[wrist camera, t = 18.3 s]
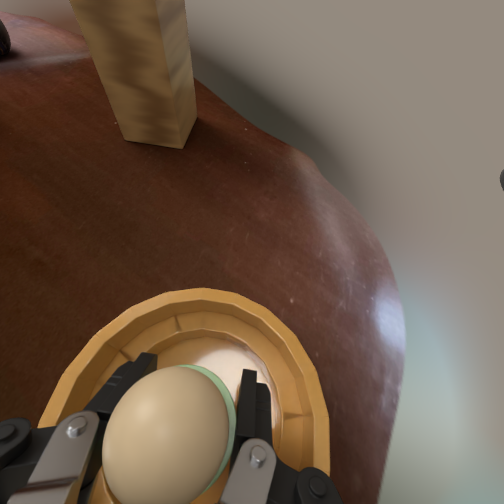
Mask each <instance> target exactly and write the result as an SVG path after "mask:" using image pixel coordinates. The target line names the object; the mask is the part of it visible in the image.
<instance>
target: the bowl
mask: <svg viewBox="0 0 504 504" xmlns="http://www.w3.org/2000/svg"><path fill="white" fill-rule="evenodd" d="M141 352H146V353H153V354H157V355H158V361H157V370H159V369H163V368H167V367H172V366H177V365H185V364H189V365H196V366H201V367H203V368H206V369H208V370H209V371H211V372H213V373H214V374H215V375H217V376H218V377H219V378H220V379H221V380H222V381H223V383H224V384H225V385H226V387H227V388H228V390H229V392H230V394H231V397H232V399H233V402H234V406H235V410H237V402H238V395H239V389H240V384H241V378H242V372H243V369H249V370H255V371H257V382H259V383H265V384H267V386H268V388H269V390H270V392H271V415H272V442H273V448H274V451H275V453H276V455H277V456H278V457H279V459H280V460H281V461H282V462H283V463H285V464H286V465H287V466H289V467H291V468H293V469H295V470H297V471H298V472H300V471H301V470H302V469H304V468H306V467H315V468H318V469H320V470H322V471H323V472H324V473H326V474H327V475H328V476H330V473H329V472H330V432H329V414H328V411H327V407H326V403H325V400H324V396H323V393H322V389H321V385H320V382H319V378H318V375H317V371H316V369H315V367H314V365H313V364H312V362H311V360H310V359H309V357H308V355H307V354H306V352H305V350H304V349H303V347H302V345H301V343H300V342H299V340H298V338H297V337H296V335H294V333H293V332H292V331H291V330H290V329H289V328H288V327H287V326H286V325H284V324H283V323H282V322H281V321H280V320H279V319H278V318H277V317H276V316H275V315H274V314H273V313H272V312H271V311H270V310H268V309H267V308H265V307H263V306H261V305H259V304H257V303H255V302H253V301H251V300H249V299H247V298H245V297H243V296H241V295H239V294H236V293H233V292H227V291H221V290H215V289H208V288H195V289H187V290H179V291H172V292H167V293H166V292H165V293H163V294H161V295H158V296H156V297H153V298H151V299H149V300H146V301H144V302H142V303H139V304H137V305H134V306H132V307H131V308H129V309H128V310H126V311H125V312H124V313H122V314H121V315H120V316H118V317H117V318H116V319H114V320H113V321H112V322H111V323H109V324H108V325H107V326H105V327H104V328H103V329H101V330H100V331H99V332H97V333H96V335H94V336H93V337H92V339H91V340H90V341H89V342H88V344H87V345H86V346H85V347H84V348H83V350H82V351H81V352H80V353H79V355H78V356H77V357H76V358H75V359H74V361H73V362H72V363H71V364H70V366H69V367H68V368H67V369H66V370H65V372H64V373H63V374H62V376H61V378H60V380H59V382H58V385H57V387H56V389H55V391H54V393H53V395H52V397H51V399H50V401H49V403H48V405H47V407H46V409H45V411H44V413H43V415H42V417H41V419H40V421H39V425H38V428H43V427H51V426H56V425H58V424H59V423H60V422H61V421H62V420H63V419H65V418H66V417H67V416H69V415H71V414H73V413H76V412H79V411H82V410H83V409H84V408H85V407H86V406H87V404H88V403H89V402H90V401H91V399H92V398H93V397H94V396H95V395H96V393H97V392H98V391H99V390H100V389H101V387H102V386H103V385H104V384H105V383H106V381H107V380H108V379H109V378H110V377H111V375H112V374H113V373H114V372H115V371H116V369H117V368H118V367H119V366H121V365H123V364H124V363H126V362H127V361H132V362H134V361H135V360H136V359H137V357H138V356H139V355H140V353H141ZM230 458H231V456H230ZM229 466H230V459H229V461H228V463H227V465H226V467H225V469H224V471H223V472H222V474H221V475H220V476H219V478H218V479H217V481H216V482H215V483H214V484H213V485H212V486H211V487H210V488H209V489H208V490H206V491H205V492H204V493H203V494H201V495H200V496H198V497H197V498H196V499H195V500H193V501H192V502H191V503H189V504H215V503H217V502H218V501H219V499H220V496H221V494H222V491H223V489H224V487H225V484H226V482H227V479H228V474H229ZM91 504H122V503H121V502H120V501H119V500H118V499H117V498H116V497H115V496H114V494H113V493H112V491H111V490H110V488H109V485H108V483H107V481H106V478H105V474H104V470H103V465H102V466H101V468H100V470H99V472H98V480H97V483H96V487H95V490H94V493H93V497H92V500H91Z"/></svg>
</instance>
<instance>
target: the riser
mask: <svg viewBox="0 0 504 504" xmlns="http://www.w3.org/2000/svg"><path fill="white" fill-rule="evenodd" d="M69 1H70V3H71V6H72V8H73V11H74V13H75V16H76V18H77V21H78V23H79V26H80V28H81V31H82V33H83V36H84V39H85V41H86V44H87V46H88V49H89V51H90V54H91V56H92V59H93V61H94V64H95V66H96V69H97V71H98V74H99V76H100V79H101V81H102V84H103V86H104V89H105V91H106V94H107V96H108V99H109V101H110V104H111V106H112V109H113V111H114V114H115V116H116V119H117V121H118V124H119V126H120V129H121V131H122V134H123V137H124V139H125V140H127V141H133V142H140V143H146V144H152V145H159V146H165V147H172V148H178V149H183V147H184V145H185V143H186V141H187V138H188V136H189V134H190V132H191V130H192V127H193V125H194V123H195V121H196V118H197V108H196V99H195V90H194V82H193V73H192V64H191V55H190V47H189V37H188V29H187V20H186V11H185V2H184V0H69Z"/></svg>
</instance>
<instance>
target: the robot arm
mask: <svg viewBox="0 0 504 504" xmlns="http://www.w3.org/2000/svg"><path fill="white" fill-rule="evenodd" d="M157 361H158V355H157V354H153V353H146V352H141V353H140V355H139V356H138V357H137V359H136V360H135V361H134V362H132V361H127V362H126V363H124V364H123V365H121V366H119V367H118V368H117V369H116V371H115V372H114V373H113V374H112V375H111V377H110V378H109V379H108V380H107V381H106V383H105V384H104V385H103V386H102V387H101V389H100V390H99V391H98V392H97V393H96V395H95V396H94V397H93V398H92V399H91V401H90V402H89V403H88V404H87V406H86V407H85V408H84V409H83V410H82V411H79V412H76V413H73V414H71V415H69V416H67V417H66V418H65V419H63V420H62V421H61V422H60V423H59V424H58V425H56V426H51V427H43V428H36V429H31V423H30V421H29V420H28V419H25V418H12V419H8V420H5V421H2V422H0V504H91V500H92V497H93V493H94V490H95V487H96V483H97V480H98V472H99V470H100V468H101V466H102V465H103V463H102V447H103V440H104V435H105V431H106V427H107V424H108V422H109V419H110V417H111V415H112V413H113V411H114V409H115V407H116V405H117V404H118V402H119V401H120V400H121V398H122V397H123V395H124V394H125V393H126V392H127V391H128V390H129V389H130V388H131V387H132V386H133V385H134V384H135V383H136V382H138V381H139V380H140V379H141V378H143V377H145V376H146V375H148V374H150V373H152V372H154V371H156V370H157ZM236 418H237V422H236V429H235V436H234V443H233V450H232V454H231V458H230V466H229V474H228V479H227V482H226V484H225V487H224V489H223V491H222V494H221V496H220V499H219V501H218V502H217V503H215V504H343V502H342V499H341V497H340V495H339V493H338V491H337V489H336V487H335V485H334V483H333V481H332V480H331V479H330V477H329V476H328V475H327V474H326V473H324V472H323V471H322V470H320V469H318V468H315V467H306V468H304V469H302V470H301V471H300V472H298V471H297V470H295V469H293V468H291V467H289V466H287V465H286V464H285V463H283V462H282V461H281V460H280V459H279V457H278V456H277V455H276V453H275V451H274V448H273V442H272V415H271V392H270V390H269V388H268V386H267V384H265V383H259V382H257V371H255V370H249V369H243V372H242V378H241V384H240V389H239V395H238V402H237V410H236Z"/></svg>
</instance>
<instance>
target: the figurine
mask: <svg viewBox="0 0 504 504" xmlns="http://www.w3.org/2000/svg"><path fill="white" fill-rule="evenodd" d="M10 47H11V42H10V37H9V34H8V32H7V30H6V28H5V26H4V24H3V23H2V21H1V20H0V54H1V55H3V54H7V53H8V52H9V50H10Z"/></svg>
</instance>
